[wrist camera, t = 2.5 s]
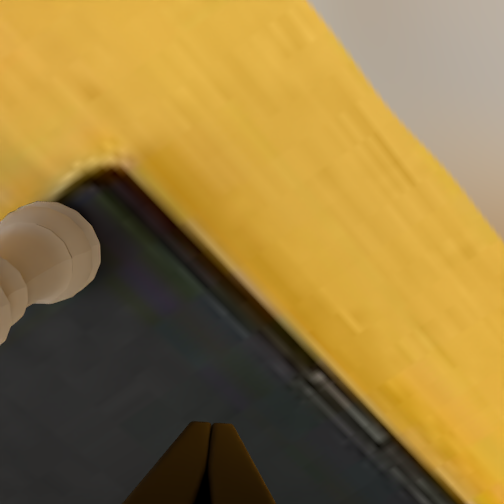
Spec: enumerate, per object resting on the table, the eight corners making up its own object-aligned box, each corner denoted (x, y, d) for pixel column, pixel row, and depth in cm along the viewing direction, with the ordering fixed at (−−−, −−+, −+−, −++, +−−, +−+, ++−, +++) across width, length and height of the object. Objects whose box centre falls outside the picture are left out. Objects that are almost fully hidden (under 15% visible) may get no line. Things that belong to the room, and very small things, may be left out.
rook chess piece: (92, 192, 19) (-12, 237, 11) (114, 286, 20) (34, 384, 12) (-8, 205, 19) (-178, 259, 11) (21, 298, 20) (-115, 403, 13)
